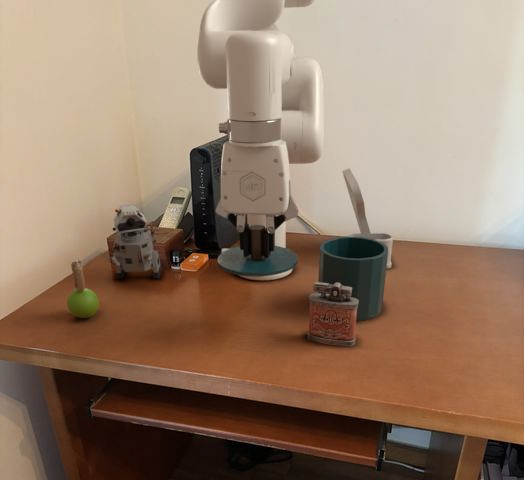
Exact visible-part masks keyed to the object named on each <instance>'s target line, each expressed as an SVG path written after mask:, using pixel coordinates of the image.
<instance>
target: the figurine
mask: <svg viewBox="0 0 524 480" xmlns="http://www.w3.org/2000/svg"><path fill="white" fill-rule="evenodd" d="M114 212H115V213H116V215H115V216H114V218H113V224H114V227H112V229H111V230H112V231H113V232H117V234H116V236H115V239H114V241H113V243H112V244H113V245H112V249H113V251H114V252H113V253H112V254H113V255H112V257H111V261H112V264H114V266H115V278H116V279H117V280H122V279H123V278H124V276H125V274H126V273H145V272H148V271H149V270H152V279H160V276H161V274H162V270H163V269H162V265H161V261H160V254H159V250H155V249H154V248H155V247H154V243H155V244H156V243H157V237H156V231H155V227H154V226H152V225H151V224H148V222H147V219H146V217H145V215H144V213H142V212H141V211H140V210H139V209H138V208H137V207H136V206H135V205H134V204H127V205H126V204H125V205H120V206H119V207H118V208H115V209H114ZM148 227H149V229H147V228H148Z"/></svg>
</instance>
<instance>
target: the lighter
mask: <svg viewBox="0 0 524 480" xmlns="http://www.w3.org/2000/svg"><path fill="white" fill-rule="evenodd" d="M312 286H313V289H312V290H313V293H310V294H309V295H308V302H309V312H308V313H309V314H308V316H309V317H308V331H307V339H308V340H309V341H313V342H316V343H319V344H326V345H331V346H343V347H351V346H354V345H355V344H356V338H357V337H356V326H357V321H356V315H357V307H358V304H359V300H358V299H356V298H352V297H351V294H352V287H347V286H342V285H341V284H340V283H337V282H336V283H334V285H330V284H329V283H321V282H318V281H315V282H314V283H313V285H312ZM318 292H321V293H318ZM326 293H330V294H326ZM344 295H345V296H344Z"/></svg>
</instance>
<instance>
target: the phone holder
mask: <svg viewBox="0 0 524 480" xmlns="http://www.w3.org/2000/svg"><path fill="white" fill-rule="evenodd" d="M342 175H343V179H344V182H345V185H346V189H347V191H348V195H349V198H350V201H351V205H352V208H353V212H354V215H355V218H356V223H357V225H358V229H359V232H360V233H351V234H348V235H347V236H346V237H364V238H370V239H374V240H377V241H380V242H382V243H384V244H385V245H386V246H387V247H388V258H387V268H386V269H390V268H392V264H393V263H392V252H393V243H394V236H393V235H391V234H389V233H384V232H383V233H382V232H381V233H380V232H379V233H377V232H376V233H374V232H373V233H372V232H371V229H370V227H369V223H368V220H367V215H366V207H365V202H364V198H363V194H362V191H361V188H360V184H359V182H358V181H357V178H356V177H355V175H354V174H353V172H352V170H351V169H350V168H347V169H344V170H342Z"/></svg>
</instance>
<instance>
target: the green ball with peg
mask: <svg viewBox="0 0 524 480" xmlns="http://www.w3.org/2000/svg"><path fill="white" fill-rule="evenodd" d="M81 263H82V260H81V259H78V260H73V261H72V262H71V264H70V267H71V271H72V275H73V277H74V287H75V289H73V290H72V291H71V292H70V293H69V295H68V296H67V298H66V299H67V300H66V305H67V309H68V311H69V312H70V314H72V315H73V316H74V317H76V318H79V319H87V318H91V317H93V316H94V315H95V314H96V313H97V312H98V309H99V305H100V301H99V300H100V299H99V298H98V295H97V294H96V293H95V292H94V291H93V290H92V289H90V288H86V281H85V277H84V272H83V271H84V269H83V267H82V265H81Z"/></svg>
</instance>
